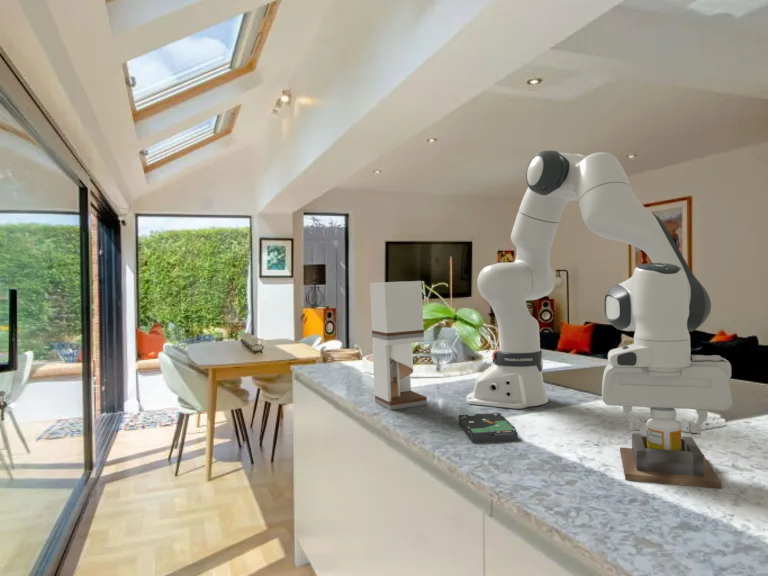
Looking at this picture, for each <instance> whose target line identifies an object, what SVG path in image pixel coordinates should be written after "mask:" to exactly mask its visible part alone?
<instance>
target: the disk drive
mask: <svg viewBox="0 0 768 576" xmlns="http://www.w3.org/2000/svg"><path fill="white" fill-rule="evenodd" d="M458 424H459V427H461V429H462V431H463V432H464V433H465V434H466V436H467V438H468V439H469V441H470V443H474V444H476V443H488V442H489V443H490V442H492V443H493V442H505V441H506V442H507V441H518V440H519V436H518V435H519V433H518V432H517V429H516V427H515V426H514V425H513V424H511V422H509V420H508V419H506V418H505V417H504V416H503V415H502V414H501V413H500V412H492V413H476V414H474V415H469V414H459V415H458Z"/></svg>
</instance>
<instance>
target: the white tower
mask: <svg viewBox="0 0 768 576" xmlns="http://www.w3.org/2000/svg"><path fill="white" fill-rule="evenodd" d="M422 284H423V283H422V280H414V281H413V280H411V281H388V282H386V281H385V282H384V281H383V282H370V283H369V293H370V294H369V295H370V313H371V314H370V315H371V316H370V317H371V339H372V360H373V361H372V362H373V364H372V365H373V379H374V381H373V382H374V383H373V386H374V402H375V403H376V404H378V405H380V406H382V407H383V408H386V409H388V410H389V411H392V410H399V409H405V408H411V407H417V406H423V405H427V404H428V401H427V399H428V397H427V396H425V395H422V394H420V393H418V392H415V391H412V387H411V375H412V374H413V373H414V361H413V360H414V356H413V345H412V344H414V343H415V344H417V343H423V342H425V332H424V331H425V330H424V329H425V328H424V309H423V307H424V306H423V305H424V304H423V286H422Z"/></svg>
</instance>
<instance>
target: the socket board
mask: <svg viewBox="0 0 768 576" xmlns="http://www.w3.org/2000/svg"><path fill="white" fill-rule="evenodd" d="M681 448H682V451H675V450H661V449H647V433H633V432H632V433H631V447H622V446H621V447H619V453H620V459H621V463H622V468H623V469H624V470H623V474H624V479H625V480H626V481H627V480H628V481H636V482H646V483H647V482H648V483H656V484H657V483H659V484H667V483H669V484H668V485H678V484H682V485H681V486H689V485H690V486H691V487H703V488H712V489H713V488H715V489H722V488H723V487H722V481H721V480H720V478H719V476H718V475H717V474H716V472H715V470H714V469H713V467H712V466H711V464H710V462H709V461H708V459H707V457H705V455H704V453H703V452H702V451H701V449H700V448H699V445H697V443H696V441H695V440H694V438H693V436H684V435H683V436H682V435H681ZM690 486H689V487H690Z"/></svg>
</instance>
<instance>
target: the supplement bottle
mask: <svg viewBox="0 0 768 576" xmlns="http://www.w3.org/2000/svg"><path fill="white" fill-rule="evenodd" d="M649 408H650V410H649V411H650V417H651V418H650V419H648V420H647V421H646V434H647V449H661V450H675V451H682V448H681V436H682V427H681V426H682V425H681V423H680V422H678V421H677V420H676V418H677V411H676V408H657V407H649Z"/></svg>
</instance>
